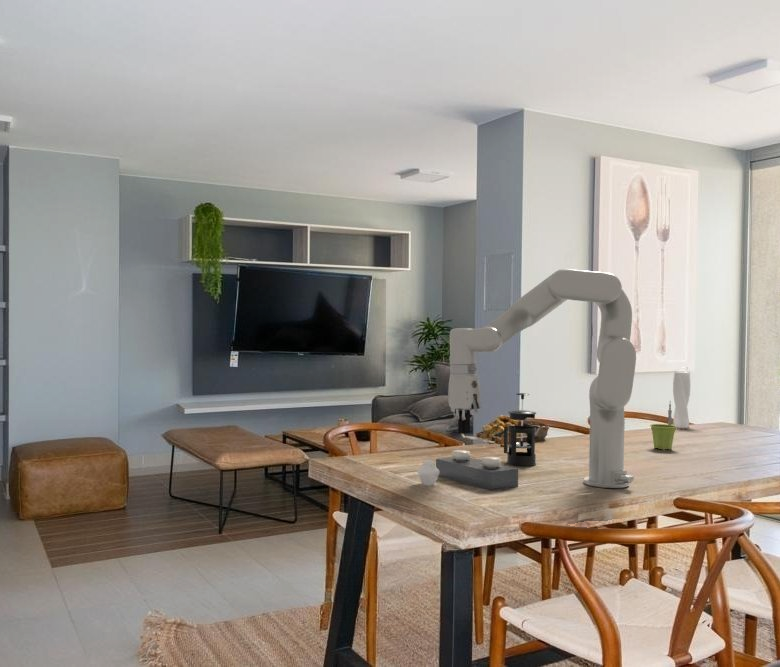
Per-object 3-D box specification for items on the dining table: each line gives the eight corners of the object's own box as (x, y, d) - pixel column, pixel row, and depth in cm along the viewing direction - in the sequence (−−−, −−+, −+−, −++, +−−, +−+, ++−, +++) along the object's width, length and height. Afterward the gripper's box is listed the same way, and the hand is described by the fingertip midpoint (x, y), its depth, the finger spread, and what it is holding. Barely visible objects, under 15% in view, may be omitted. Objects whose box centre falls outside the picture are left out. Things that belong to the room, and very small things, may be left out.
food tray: (525, 435, 322) (526, 410, 321) (570, 444, 300) (571, 416, 300) (459, 441, 303) (459, 414, 302) (502, 450, 281) (503, 421, 281)
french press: (543, 464, 248) (544, 393, 248) (526, 468, 242) (528, 395, 241) (513, 460, 257) (514, 391, 256) (496, 463, 250) (497, 392, 250)
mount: (518, 486, 213) (518, 468, 213) (491, 490, 208) (491, 472, 208) (461, 472, 233) (461, 455, 233) (435, 475, 227) (435, 458, 227)
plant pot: (680, 451, 282) (680, 427, 282) (654, 450, 282) (654, 427, 282) (671, 447, 291) (671, 424, 291) (646, 446, 291) (646, 423, 291)
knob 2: (504, 481, 214) (504, 458, 214) (490, 483, 211) (490, 460, 211) (491, 477, 219) (492, 456, 219) (477, 479, 216) (478, 457, 216)
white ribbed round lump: (412, 484, 214) (413, 459, 214) (427, 481, 219) (428, 456, 219) (429, 487, 210) (429, 462, 210) (444, 484, 214) (444, 459, 214)
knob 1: (473, 473, 225) (473, 452, 225) (459, 475, 222) (460, 453, 222) (461, 470, 229) (462, 449, 229) (448, 472, 226) (448, 451, 226)
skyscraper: (676, 427, 351) (677, 366, 351) (693, 429, 345) (694, 366, 345) (666, 428, 346) (667, 366, 346) (683, 430, 340) (684, 367, 340)
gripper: (490, 370, 221) (491, 434, 221) (456, 369, 234) (457, 429, 234) (470, 371, 217) (471, 437, 217) (437, 370, 229) (438, 431, 229)
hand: (464, 432), depth 225 cm, fingers closed
